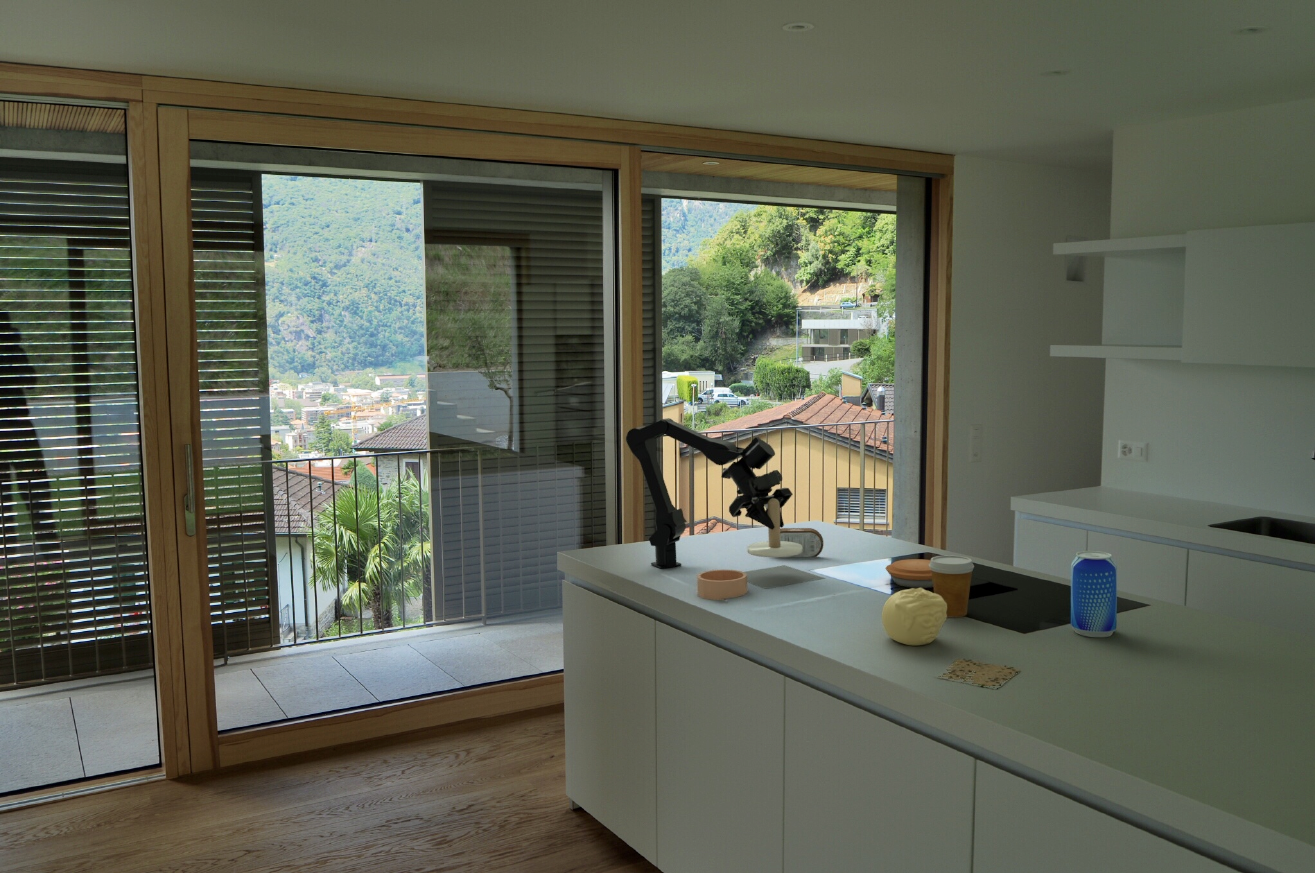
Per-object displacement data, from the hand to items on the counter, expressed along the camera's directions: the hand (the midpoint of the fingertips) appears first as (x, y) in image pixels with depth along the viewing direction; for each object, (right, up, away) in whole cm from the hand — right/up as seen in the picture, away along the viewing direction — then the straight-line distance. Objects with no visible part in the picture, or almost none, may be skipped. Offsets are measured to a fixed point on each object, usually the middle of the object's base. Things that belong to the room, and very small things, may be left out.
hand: (778, 527), depth 251 cm
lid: (-1, -6, +2) cm, 7 cm away
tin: (+8, -11, +25) cm, 28 cm away
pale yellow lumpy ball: (+21, -18, -53) cm, 60 cm away
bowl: (-15, -15, -11) cm, 24 cm away
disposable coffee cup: (+34, -16, -35) cm, 51 cm away
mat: (0, -13, +2) cm, 13 cm away
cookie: (+27, -20, -73) cm, 81 cm away
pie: (+34, -13, -7) cm, 37 cm away
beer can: (+57, -17, -52) cm, 79 cm away
